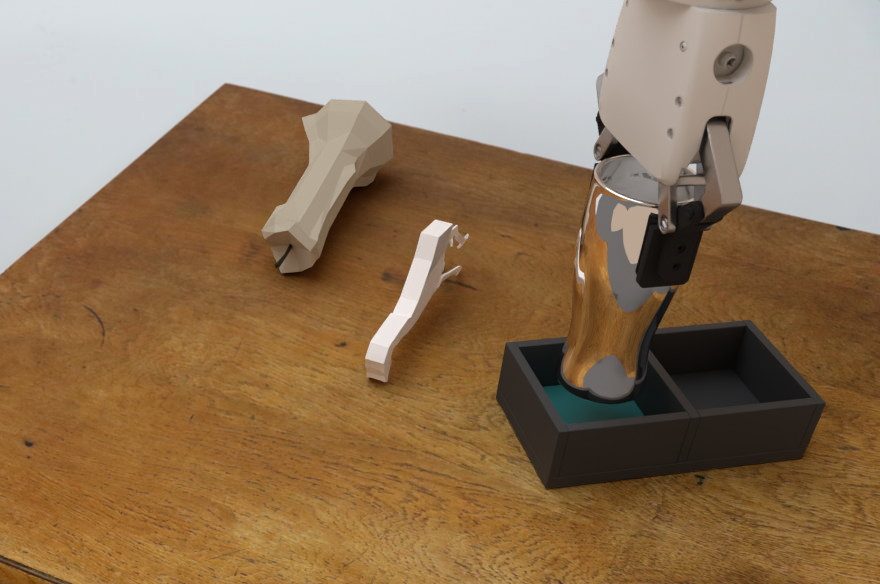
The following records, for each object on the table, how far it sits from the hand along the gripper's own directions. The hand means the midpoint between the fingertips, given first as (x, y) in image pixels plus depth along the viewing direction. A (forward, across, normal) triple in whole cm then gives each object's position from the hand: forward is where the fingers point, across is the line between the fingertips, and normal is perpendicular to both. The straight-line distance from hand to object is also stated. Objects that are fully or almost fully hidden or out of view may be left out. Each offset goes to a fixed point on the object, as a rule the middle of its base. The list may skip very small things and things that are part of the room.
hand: (633, 248), depth 69 cm
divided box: (+15, 0, -5) cm, 16 cm away
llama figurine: (+15, +15, +8) cm, 23 cm away
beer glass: (+10, 0, 0) cm, 10 cm away
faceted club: (+15, +32, +12) cm, 38 cm away
